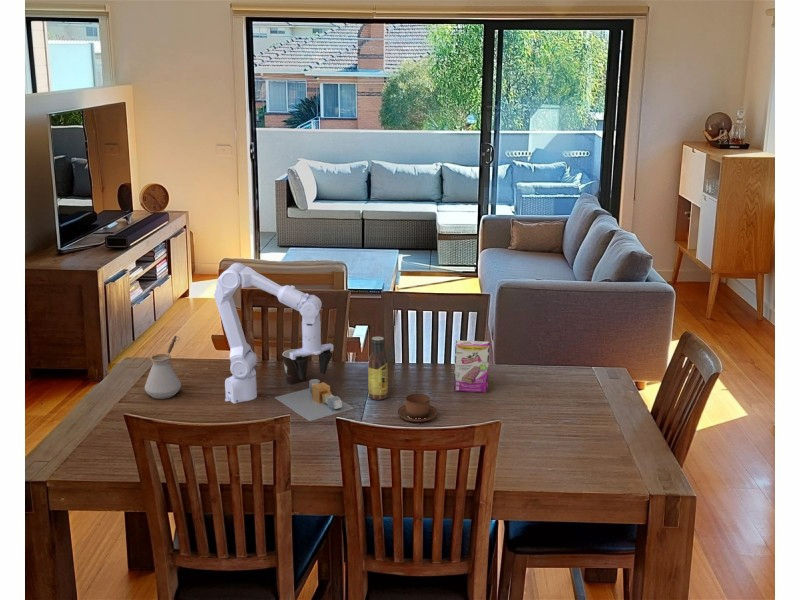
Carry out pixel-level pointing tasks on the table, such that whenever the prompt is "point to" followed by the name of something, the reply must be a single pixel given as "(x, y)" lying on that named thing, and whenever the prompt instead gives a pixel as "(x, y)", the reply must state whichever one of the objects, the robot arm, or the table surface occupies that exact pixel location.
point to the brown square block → (320, 391)
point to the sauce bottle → (378, 370)
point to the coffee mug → (293, 368)
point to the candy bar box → (471, 366)
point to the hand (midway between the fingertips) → (312, 376)
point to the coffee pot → (162, 376)
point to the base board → (309, 405)
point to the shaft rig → (327, 397)
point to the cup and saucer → (417, 408)
